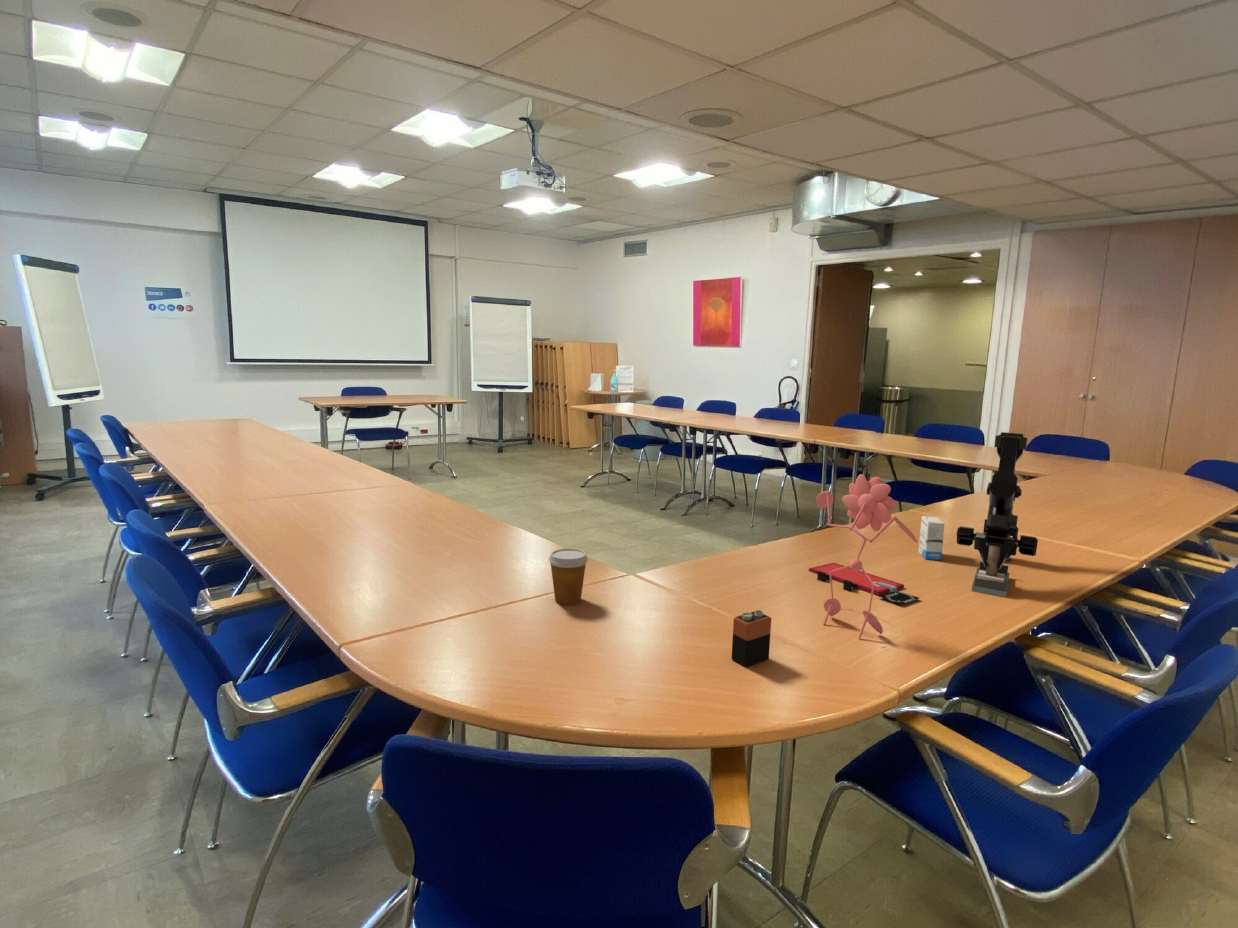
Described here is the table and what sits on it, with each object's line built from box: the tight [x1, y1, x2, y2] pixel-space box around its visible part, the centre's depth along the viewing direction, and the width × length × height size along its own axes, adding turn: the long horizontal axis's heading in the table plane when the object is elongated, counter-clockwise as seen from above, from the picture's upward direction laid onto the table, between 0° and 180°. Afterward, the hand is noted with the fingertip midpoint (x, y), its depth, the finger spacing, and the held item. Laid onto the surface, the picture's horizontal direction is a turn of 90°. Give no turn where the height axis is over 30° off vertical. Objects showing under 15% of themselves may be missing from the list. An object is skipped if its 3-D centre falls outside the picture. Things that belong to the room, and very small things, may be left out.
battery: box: [731, 609, 772, 668], centre depth 131 cm, size 4×7×10 cm, turn 124°
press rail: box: [971, 560, 1010, 598], centre depth 178 cm, size 18×8×4 cm, turn 148°
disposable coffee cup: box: [548, 547, 589, 606], centre depth 160 cm, size 10×10×12 cm
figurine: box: [815, 473, 918, 649], centre depth 147 cm, size 15×26×35 cm, turn 36°
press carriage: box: [978, 545, 1005, 583], centre depth 173 cm, size 5×6×10 cm
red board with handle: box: [808, 562, 920, 605], centre depth 176 cm, size 30×3×15 cm
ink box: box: [918, 515, 945, 561], centre depth 202 cm, size 9×5×12 cm, turn 168°
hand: (991, 567), depth 172 cm, fingers closed on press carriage, 3 cm apart
